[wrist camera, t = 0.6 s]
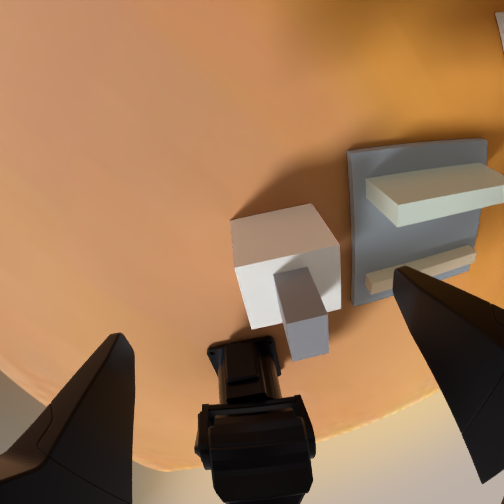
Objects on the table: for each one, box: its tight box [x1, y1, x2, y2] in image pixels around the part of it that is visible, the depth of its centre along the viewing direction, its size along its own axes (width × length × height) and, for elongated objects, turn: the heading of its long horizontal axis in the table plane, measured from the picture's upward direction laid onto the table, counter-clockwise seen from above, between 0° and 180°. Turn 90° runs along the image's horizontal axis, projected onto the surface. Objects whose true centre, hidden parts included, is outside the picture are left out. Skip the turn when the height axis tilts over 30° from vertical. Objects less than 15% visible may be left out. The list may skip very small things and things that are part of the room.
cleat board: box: [347, 138, 504, 307], centre depth 21 cm, size 14×14×6 cm
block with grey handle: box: [230, 203, 341, 361], centre depth 19 cm, size 5×6×10 cm
